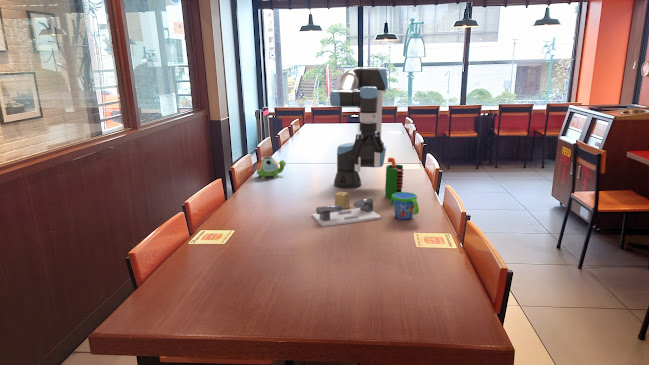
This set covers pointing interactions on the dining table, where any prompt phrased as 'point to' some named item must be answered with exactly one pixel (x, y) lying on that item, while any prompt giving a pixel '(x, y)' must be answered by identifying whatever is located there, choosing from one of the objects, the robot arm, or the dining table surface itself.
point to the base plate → (347, 217)
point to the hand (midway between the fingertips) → (367, 168)
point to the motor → (393, 178)
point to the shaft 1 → (328, 211)
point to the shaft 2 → (365, 204)
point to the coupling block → (342, 200)
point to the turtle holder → (269, 167)
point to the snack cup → (404, 204)
